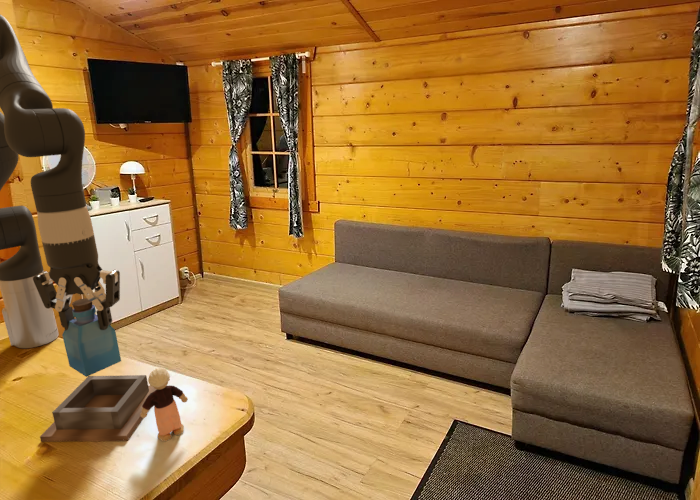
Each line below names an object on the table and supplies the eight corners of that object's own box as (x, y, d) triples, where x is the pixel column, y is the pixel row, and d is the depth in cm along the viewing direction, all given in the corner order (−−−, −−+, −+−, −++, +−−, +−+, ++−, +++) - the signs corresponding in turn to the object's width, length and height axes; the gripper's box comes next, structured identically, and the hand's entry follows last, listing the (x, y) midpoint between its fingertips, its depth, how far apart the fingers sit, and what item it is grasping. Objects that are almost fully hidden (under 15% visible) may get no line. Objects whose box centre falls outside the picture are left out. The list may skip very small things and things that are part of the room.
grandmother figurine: (182, 418, 87) (172, 356, 83) (194, 427, 84) (184, 363, 81) (141, 442, 81) (128, 376, 77) (153, 451, 79) (141, 384, 75)
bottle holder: (41, 441, 82) (35, 419, 81) (88, 390, 96) (84, 371, 95) (127, 440, 81) (122, 418, 80) (162, 389, 96) (159, 370, 94)
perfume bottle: (86, 376, 82) (71, 312, 78) (69, 366, 85) (55, 304, 82) (121, 361, 86) (109, 299, 83) (104, 351, 90) (91, 292, 86)
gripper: (121, 228, 82) (138, 318, 87) (39, 230, 83) (60, 319, 88) (98, 240, 75) (117, 337, 80) (9, 242, 75) (33, 339, 80)
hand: (87, 327), depth 84 cm, fingers closed on perfume bottle, 5 cm apart
